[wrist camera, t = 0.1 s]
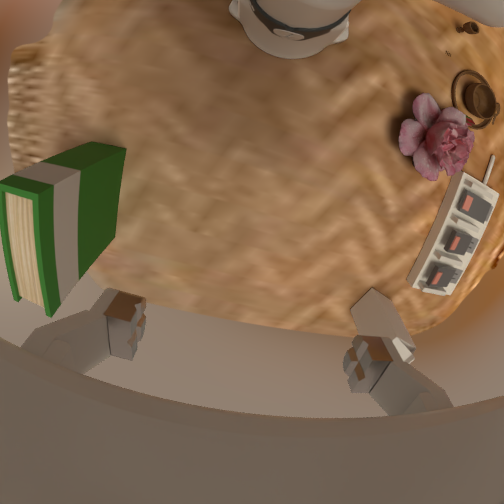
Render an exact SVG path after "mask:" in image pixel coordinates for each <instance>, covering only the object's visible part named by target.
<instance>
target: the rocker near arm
mask: <svg viewBox="0 0 504 504" xmlns="http://www.w3.org/2000/svg"><path fill="white" fill-rule="evenodd" d="M491 205H492V204H491V203H489V202H487V201H486V200H484V199H482V198H481V197H479V196H477V195H475V194H474V193H472V192H470V191H468V190H466V189H465V190H464V193H463V195H462V198H461V200H460V203H459V205H458V208H457V210H458V211H460V212H462V213H463V214H465V215H467V216H469V217H471V218H473V219H475V220H477V221H479V222H481V223H482V224H484V222H485V220H486V217H487V215H488V212H489V210H490V208H491Z"/></svg>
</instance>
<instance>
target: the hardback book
mask: <svg viewBox="0 0 504 504" xmlns="http://www.w3.org/2000/svg"><path fill="white" fill-rule="evenodd" d="M125 154H126V148H121V147H116V146H111V145H106V144H101V143H96V142H89V143H86V144H83V145H81V146H78V147H75V148H73V149H70V150H67V151H65V152H62V153H60V154H57V155H55V156H52V157H50V158H48V159H45V160H43V161H41V162H38V163H36V164H34V165H32V166H29V167H27V168H25V169H23V170H21V171H19V172H17V173H15V174H13V175H11V176H9V177H7V178H5V179H3V180H1V181H0V229H1V237H2V244H3V251H4V256H5V262H6V267H7V272H8V277H9V281H10V286H11V289H12V294H13V297H14V300H15V301H17V302H19V301H20V299H21V298H22V297H23V298H25V299H27V300H29V301H31V302H34V303H36V304H38V305H40V306H43V307H44V308H45V312H46V315H47V316H49V317H52V316H53V315H54V313H55V312H56V310H57V309H58V308H59V306H60V305H61V304H62V302H63V301H64V300H65V298H66V297H67V295H68V294H69V293H70V292H71V290H72V289H73V288H74V286H75V285H76V284H77V282H78V281H79V280H80V279H81V277H82V276H83V275H84V274H85V272H86V271H87V270H88V269H89V267H90V266H91V265H92V264H93V262H94V261H95V260H96V259H97V258H98V256H99V255H100V254H101V253H102V252H103V251H104V249H105V248H106V247H107V246H108V245H109V244H110V242H111V241H112V240H113V239H114V238H115V233H116V221H117V211H118V202H119V194H120V187H121V179H122V173H123V166H124V160H125Z"/></svg>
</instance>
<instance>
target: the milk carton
mask: <svg viewBox="0 0 504 504" xmlns="http://www.w3.org/2000/svg"><path fill="white" fill-rule="evenodd" d="M350 311H351V314H352V316H353V319H354V322H355V324H356V327H357V330H358V333H359V335H365V336H376V337H378V336H381V337H389V338H390V339H391V340H392V342H393V344H394V345H395V347H396V349H397V351H398V352H399V354H400V356H401V358H402V360H403V361H404V362H407V363H410V362H412V361H413V360H414V359H415V358H414V356H413V353H414V351H415V349H416V347H415V345H414V343H413V341H412V339H411V337H410V335H409V333H408V331H407V329H406V327H405V325H404V323H403V321H402V319H401V317H400V316H399V314H398V312H397V310H396V308H395V306H394V304H393V303H392V301H391V300H390V299H388V298H387V297H385V296H384V295H383V294H381V293H380V292H378V291H377V290H375V289H374V288H371V289H370V290H369V291H368V292H367V293H366V294H365V295H364V296H363V297H362V298H361V299H360V300H359V301H358V302H357V303H356V304H355V305H354V306H353V307H352V308H351V309H350Z"/></svg>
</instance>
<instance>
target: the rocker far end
mask: <svg viewBox="0 0 504 504" xmlns="http://www.w3.org/2000/svg"><path fill="white" fill-rule="evenodd" d="M455 272H456V269H455V268H454V267H450V266H443V265H435V266H434V268H433V270H432V272H431V274H430V276H429V277H428V279H427V281H426V284H427V285H428V286H429V287H447V286H448V284H449V283H450V281H451V279H452V277H453V275H454V274H455Z"/></svg>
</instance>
